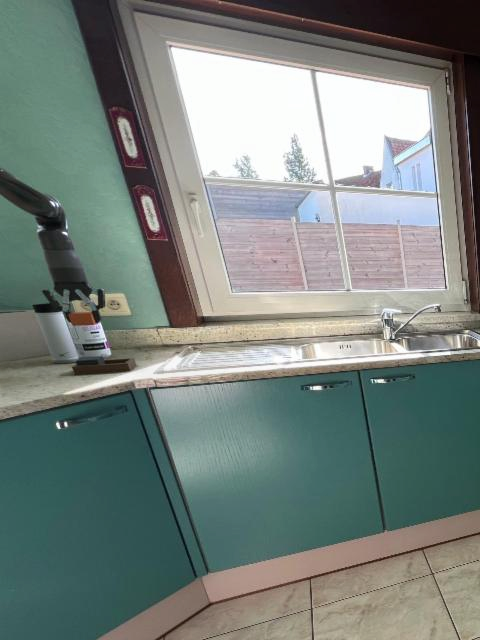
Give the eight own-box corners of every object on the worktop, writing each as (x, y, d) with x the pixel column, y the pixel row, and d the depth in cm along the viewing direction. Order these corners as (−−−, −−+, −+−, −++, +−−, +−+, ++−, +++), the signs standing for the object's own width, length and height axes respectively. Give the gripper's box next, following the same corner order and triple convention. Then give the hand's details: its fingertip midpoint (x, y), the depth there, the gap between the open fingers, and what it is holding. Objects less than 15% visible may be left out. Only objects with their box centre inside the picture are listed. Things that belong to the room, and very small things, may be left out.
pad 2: (79, 371, 154) (75, 360, 153) (85, 367, 159) (81, 357, 158) (101, 370, 157) (97, 359, 156) (106, 366, 162) (102, 356, 160)
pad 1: (72, 325, 152) (68, 314, 150) (78, 323, 156) (74, 312, 155) (94, 325, 154) (90, 313, 153) (99, 322, 159) (95, 311, 158)
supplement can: (91, 355, 179) (76, 313, 174) (117, 355, 181) (103, 313, 175) (74, 359, 172) (57, 315, 166) (101, 359, 173) (86, 316, 168)
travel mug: (68, 364, 166) (45, 302, 158) (48, 363, 166) (24, 302, 158) (86, 360, 172) (64, 301, 164) (67, 359, 171) (44, 300, 164)
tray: (74, 374, 153) (71, 366, 152) (83, 369, 160) (80, 361, 159) (130, 371, 159) (127, 363, 158) (136, 365, 167) (134, 358, 166)
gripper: (26, 266, 142) (50, 326, 149) (93, 266, 149) (113, 323, 156) (36, 265, 148) (58, 323, 155) (100, 265, 155) (119, 320, 162)
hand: (86, 322), depth 155 cm, fingers closed on pad 1, 5 cm apart
